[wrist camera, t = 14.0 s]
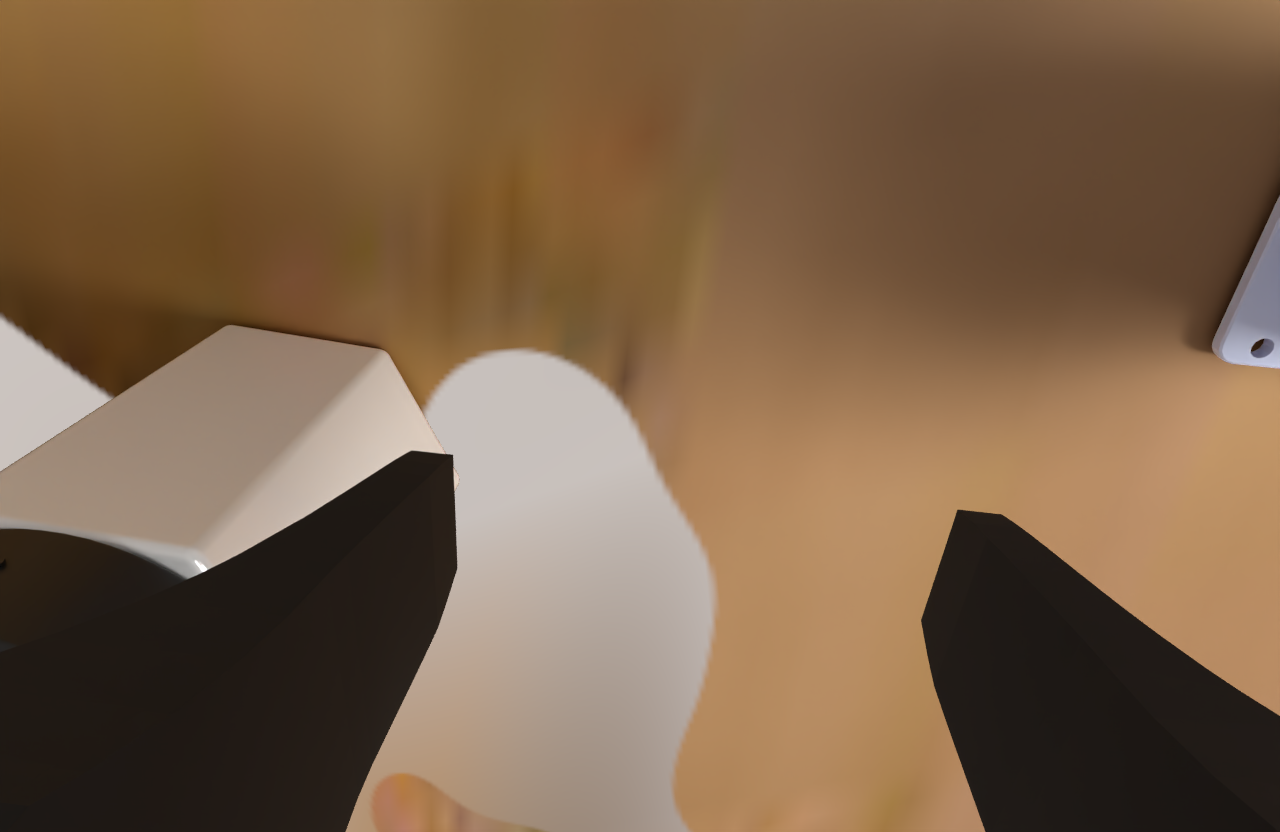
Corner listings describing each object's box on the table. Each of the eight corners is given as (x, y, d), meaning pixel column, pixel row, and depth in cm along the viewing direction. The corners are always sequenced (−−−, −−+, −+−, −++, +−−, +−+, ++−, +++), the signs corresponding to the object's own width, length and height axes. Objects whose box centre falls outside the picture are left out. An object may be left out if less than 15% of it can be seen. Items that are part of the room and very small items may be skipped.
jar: (256, 256, 21) (-216, 510, 10) (506, 430, 23) (331, 797, 12) (138, 471, 24) (-301, 825, 14) (362, 605, 26) (129, 1007, 16)
